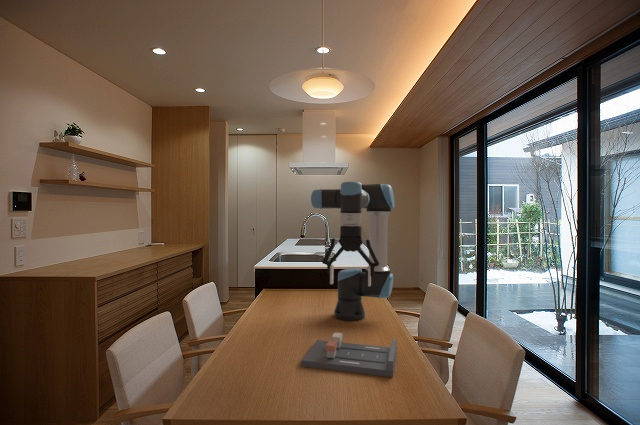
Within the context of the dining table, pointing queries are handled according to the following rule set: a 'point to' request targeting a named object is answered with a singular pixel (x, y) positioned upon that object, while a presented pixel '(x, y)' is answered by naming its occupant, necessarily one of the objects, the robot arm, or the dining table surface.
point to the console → (354, 358)
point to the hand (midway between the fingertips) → (350, 284)
